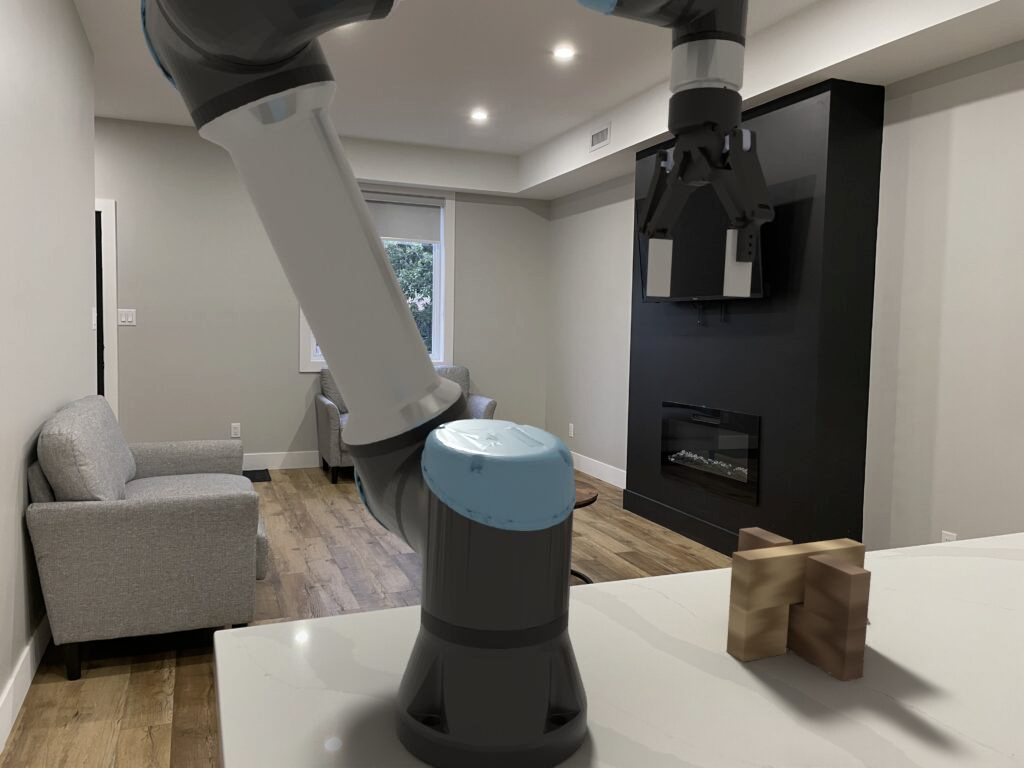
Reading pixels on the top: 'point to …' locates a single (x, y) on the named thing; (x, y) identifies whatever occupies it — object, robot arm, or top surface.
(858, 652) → the slotted wooden board
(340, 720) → the top surface
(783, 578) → the wooden interlocking puzzle
